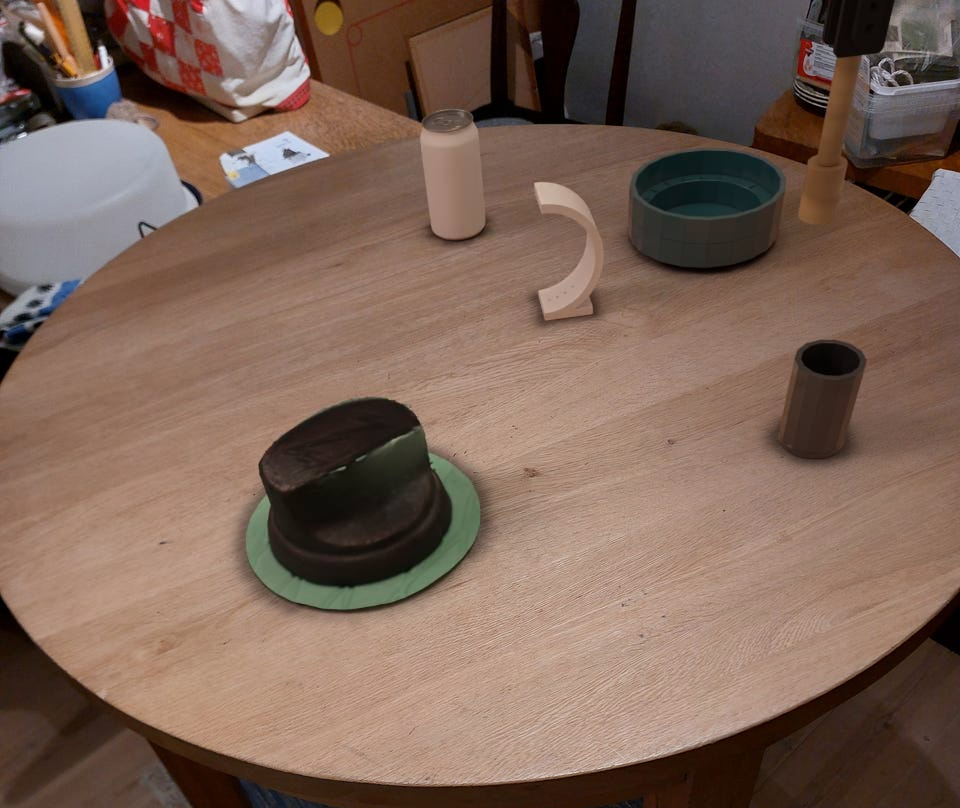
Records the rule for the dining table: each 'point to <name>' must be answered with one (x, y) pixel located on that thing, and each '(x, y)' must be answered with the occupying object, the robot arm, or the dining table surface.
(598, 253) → the headphone stand
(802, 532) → the dining table surface
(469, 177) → the can
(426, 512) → the dark brown green hat
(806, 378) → the utensil pot
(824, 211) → the stick
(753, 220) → the bowl
